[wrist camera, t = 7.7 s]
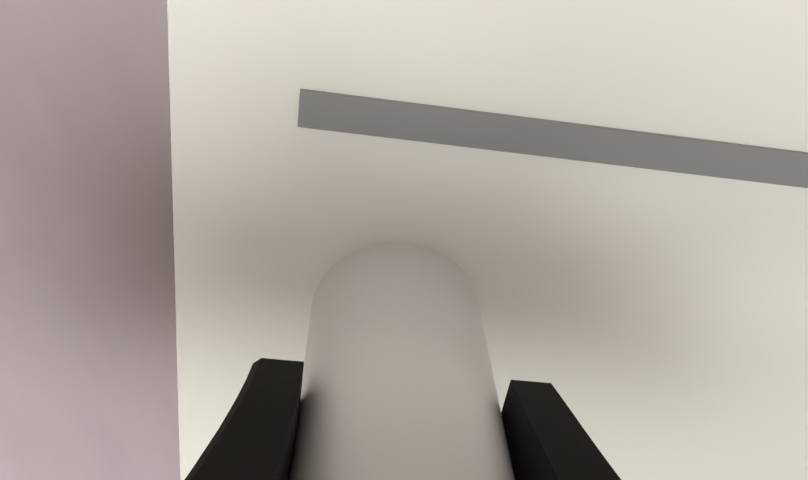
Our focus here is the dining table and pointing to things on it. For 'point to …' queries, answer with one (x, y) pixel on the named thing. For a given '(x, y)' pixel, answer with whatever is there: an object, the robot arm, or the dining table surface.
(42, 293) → the dining table surface
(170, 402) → the dining table surface
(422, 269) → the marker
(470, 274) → the paper
